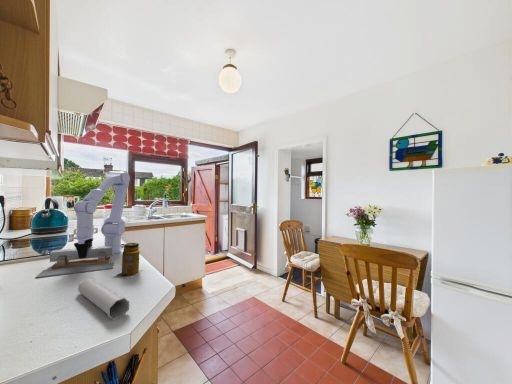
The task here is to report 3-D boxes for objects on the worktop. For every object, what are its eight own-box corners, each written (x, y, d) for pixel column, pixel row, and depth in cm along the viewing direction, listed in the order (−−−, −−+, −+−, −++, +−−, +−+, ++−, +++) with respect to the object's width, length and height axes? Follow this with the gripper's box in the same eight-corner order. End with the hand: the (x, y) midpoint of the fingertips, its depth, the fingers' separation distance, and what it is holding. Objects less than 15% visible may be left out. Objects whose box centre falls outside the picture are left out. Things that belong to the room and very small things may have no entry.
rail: (52, 259, 93) (53, 250, 93) (112, 253, 104) (113, 245, 104) (49, 262, 90) (50, 252, 90) (112, 255, 101) (112, 247, 101)
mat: (43, 271, 86) (43, 270, 86) (114, 263, 98) (114, 262, 98) (35, 278, 79) (35, 277, 79) (112, 268, 91) (112, 267, 91)
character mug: (72, 250, 116) (72, 226, 116) (73, 247, 122) (74, 224, 122) (97, 248, 122) (97, 225, 122) (97, 245, 128) (98, 223, 128)
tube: (72, 282, 68) (105, 307, 54) (91, 273, 72) (126, 293, 58) (78, 296, 70) (111, 324, 55) (96, 286, 74) (132, 309, 60)
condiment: (143, 270, 90) (144, 242, 90) (131, 278, 82) (132, 247, 82) (126, 270, 90) (127, 241, 91) (112, 277, 82) (113, 246, 82)
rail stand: (57, 263, 96) (57, 253, 96) (110, 257, 106) (111, 248, 106) (50, 269, 88) (51, 258, 88) (109, 262, 98) (109, 253, 98)
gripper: (77, 224, 101) (76, 253, 101) (69, 229, 89) (68, 262, 89) (95, 224, 105) (94, 251, 105) (90, 228, 92) (89, 260, 92)
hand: (83, 256), depth 97 cm, fingers open, 6 cm apart
